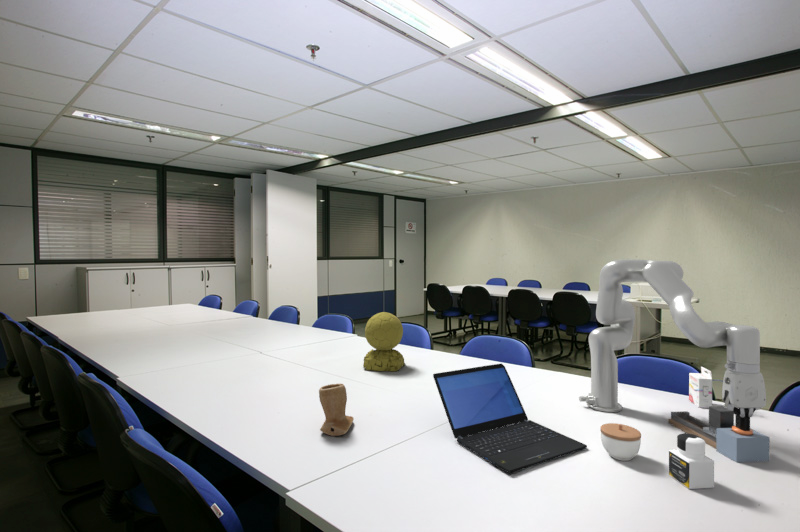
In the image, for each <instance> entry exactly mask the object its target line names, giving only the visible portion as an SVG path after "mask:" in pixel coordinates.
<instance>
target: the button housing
mask: <svg viewBox="0 0 800 532" xmlns="http://www.w3.org/2000/svg"><path fill="white" fill-rule="evenodd" d="M752 430H753V434H752V435H745V436H742V435H740V434H738V433H735V432H734V431H733V430H732V428H717V435H716V449H715V450H716V452H718V453H719V454H720V455H723V456H725V457H726V458H728V459H729V460H731V461H733V462H736V463H749V462H750V463H751V462H770V436H768V435H766V434H764V433H761V432H759V431H757V430H754V429H752Z"/></svg>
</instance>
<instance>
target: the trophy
mask: <svg viewBox="0 0 800 532" xmlns="http://www.w3.org/2000/svg"><path fill="white" fill-rule="evenodd" d="M403 336H404V328H403V323H402V322H401V320H400V319H399V318H398V317H397V316H396V315H394V314H393V313H390V312H386V311H382V312H377V313H376V314H374V315H371V317H370V318H369V319H368V320H367V322H366V324H365V328H364V337H365V339H366V341H367V343H368V345H370V346H371V347H372V349H370V350H369V351H368V352H367V353H366V354H365V356H364V357H363V366H362V368H363V369H365V370H366V371H374V372H375V371H376V372H398V370H400V369H402V367H403V366H405V357H404V355H403V354H402V353H401V352H399V351H398V350H397V349H394V348H396V347H397V346H398V345H399V344H400V343H401V341H402V339H403Z"/></svg>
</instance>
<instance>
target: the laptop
mask: <svg viewBox="0 0 800 532" xmlns="http://www.w3.org/2000/svg"><path fill="white" fill-rule="evenodd" d="M432 377H433V381H434V383H435V385H436V388H437V391H438V394H439V397H440V400H441V403H442V405H443V408H444V409H443V410H444V411H445V412H444V413H445V414H446V416H447V419H448V423H449V426H450V429H451V431H452V434H453V437H454V439H456V442H457V443H458V444H460V445H462V446H464V447H465V448H466V449H468V450H470V451H471V452H473V453H474V454H476V455H478V456H479V457H481V458H482V459H484V460H485V461H487V462H489V463H490V464H492V465H494V466H495V467H497V468H499V469H500V470H502V471H504V472H506V473H508V474H510V475H511V474H513V473H516V472H520V471H522V470H525V469H528V468H530V467H533V466H537V465H539V464H542V463H543V464H544V463H545V462H549V461H553V460H554V459H558V458H561V457H563V456H566V455H570V454H573V453H576V452H578V451H582V450H585V449H587V448H588V445H587V444H585V443H583V442H581V441H578V440H575V439H574V438H571V437H570V436H567V435H564V434H562V433H560V432H558V431H556V430H553V429H551V428H548V427H546V426H544V425H542V424H540V423H537V422H535V421H533V420H530V419H529V417H528V415H527V414H526V411H525V409H524V406H523V404H522V402H521V400H520V397H519V395H518V393H517V390H516V388H515V386H514V384H513V381H512V379H511V377H510V375H509V373H508V371H507V368H506V366H505V365H504V364H503V363H496V364H489V365H482V366H477V367H469V368H463V369H455V370H451V371H450V370H449V371H444V372H443V371H442V372H436V373H433V374H432Z"/></svg>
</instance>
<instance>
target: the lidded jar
mask: <svg viewBox="0 0 800 532" xmlns="http://www.w3.org/2000/svg"><path fill="white" fill-rule="evenodd" d="M600 439H601V443H602V446H603V448H604V450H605V451H606V452H607V453H608V456H610V457H611V458H613V459H615V460H617V461H623V462H624V461H625V462H626V461H631V460H632V459H634V458H635V457H636V456H637V455H638V453H639V451H640V448H641V444H642V443H641V442H642V440H641V439H642V433H641V432H640V431H639V430H638V429H637V428H635V427H633V426H629V425H626V424H622V423H614V422H613V423H612V422H611V423H610V422H609V423H605V424H602V425H600Z"/></svg>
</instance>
